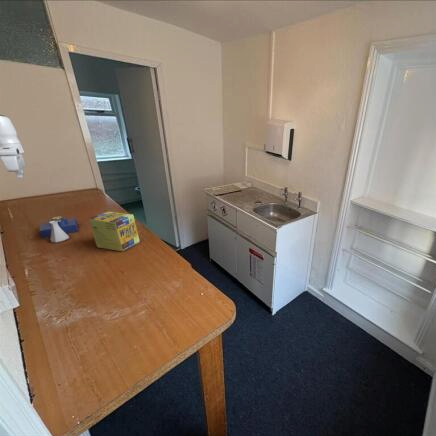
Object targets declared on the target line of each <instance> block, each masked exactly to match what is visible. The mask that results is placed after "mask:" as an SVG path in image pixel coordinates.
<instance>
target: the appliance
mask: <svg viewBox="0 0 436 436" xmlns="http://www.w3.org/2000/svg"><path fill="white" fill-rule="evenodd" d="M62 219H63V220H61V221H58V225H59V227H60V228H61V229H62V230H63V231H64V232H65V233H66V234H67V235H68V234H72V233H76V232H79V222H78V220H77V218H76V217H73V218H68V219H67V217H62ZM51 221H52V219H50V220H48V222H44V223H41V224H40V227H39V234H40V237H41V238H42V239H46V238H51V231H52V228H51V224H49V222H51Z"/></svg>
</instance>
